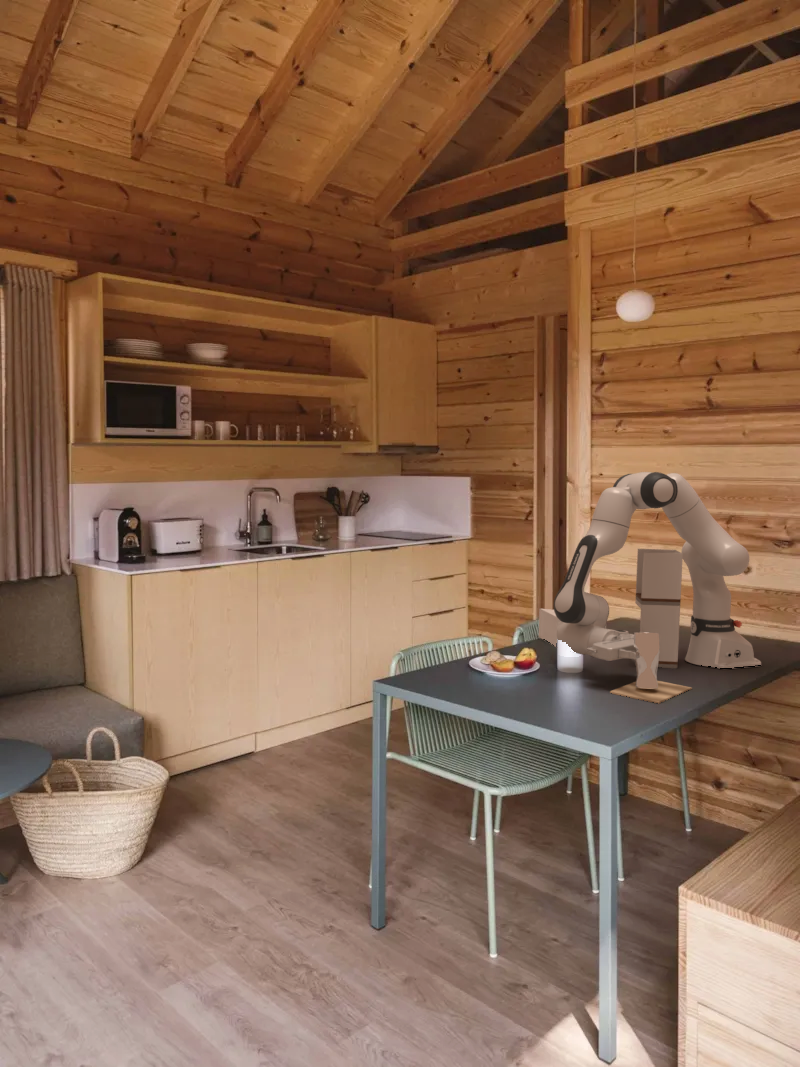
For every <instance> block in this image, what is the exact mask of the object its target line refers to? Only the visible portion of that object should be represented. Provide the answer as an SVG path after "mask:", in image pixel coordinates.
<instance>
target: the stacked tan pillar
mask: <svg viewBox="0 0 800 1067" xmlns="http://www.w3.org/2000/svg"><path fill="white" fill-rule="evenodd" d="M636 557H637V559H636V560H637V561H636V584H635V602H634V603H635V604H636V605H637V607H638V608H640V620H639V623H640V624H639V632H643V633H659V639H660V656H659V662H658V667H662V668H661V669H678V662H679V661H678V659H679V643H680V641H679V639H680V619H681V618H680V617H681V600H682V578H683V577H682V576H683V575H682V574H683V561H684V560H683V553H682V551H681V552H680V551H679V550H677V549H665V548H664V549H662V548H660V549H659V548H656V549H655V548H637V556H636ZM633 661H634V662H635V659H633Z"/></svg>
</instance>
